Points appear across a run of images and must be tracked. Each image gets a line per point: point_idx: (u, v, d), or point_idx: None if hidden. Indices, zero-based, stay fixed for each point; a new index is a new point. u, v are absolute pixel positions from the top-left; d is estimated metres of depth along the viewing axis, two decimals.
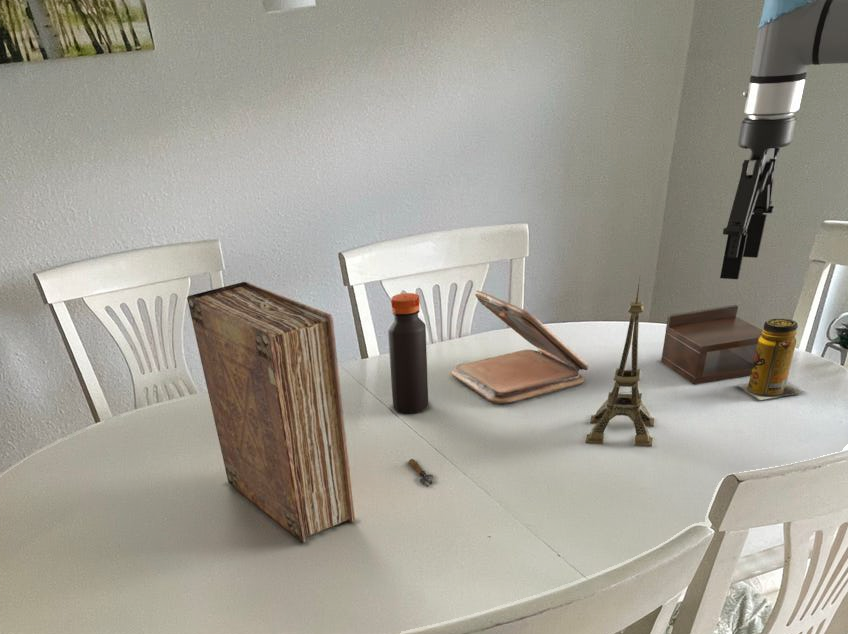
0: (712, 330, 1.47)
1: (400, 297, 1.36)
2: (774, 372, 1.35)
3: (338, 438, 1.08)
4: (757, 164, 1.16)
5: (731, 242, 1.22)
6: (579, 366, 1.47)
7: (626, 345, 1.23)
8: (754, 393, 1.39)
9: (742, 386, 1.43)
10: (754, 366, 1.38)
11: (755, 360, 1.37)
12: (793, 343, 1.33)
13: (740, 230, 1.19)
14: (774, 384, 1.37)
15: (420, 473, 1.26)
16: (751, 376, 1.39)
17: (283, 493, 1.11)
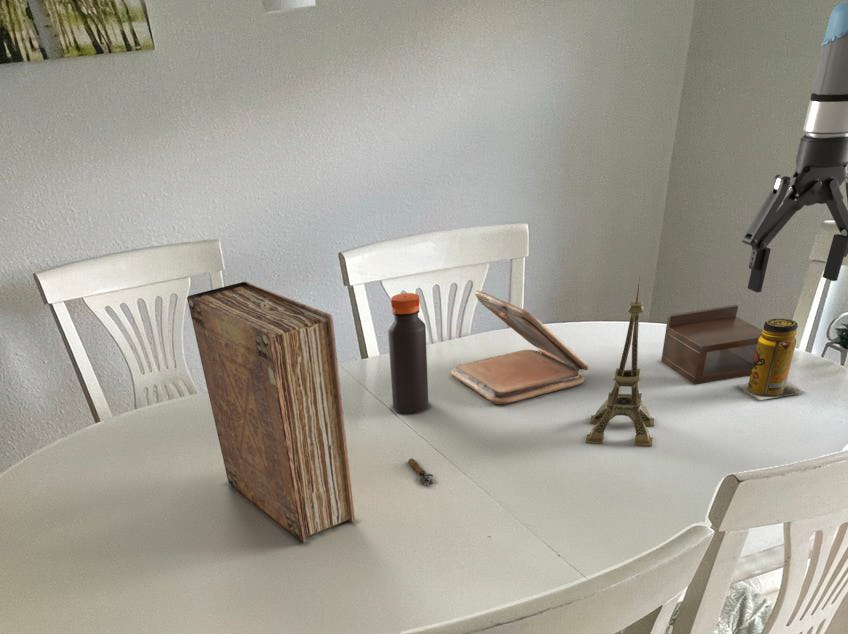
0: (712, 330, 1.47)
1: (400, 297, 1.36)
2: (774, 372, 1.35)
3: (338, 438, 1.08)
4: (782, 180, 1.18)
5: (752, 253, 1.25)
6: (579, 366, 1.47)
7: (626, 345, 1.23)
8: (754, 393, 1.39)
9: (742, 386, 1.43)
10: (754, 366, 1.38)
11: (755, 360, 1.37)
12: (793, 343, 1.33)
13: (749, 242, 1.23)
14: (774, 384, 1.37)
15: (420, 472, 1.26)
16: (751, 376, 1.39)
17: (283, 493, 1.11)
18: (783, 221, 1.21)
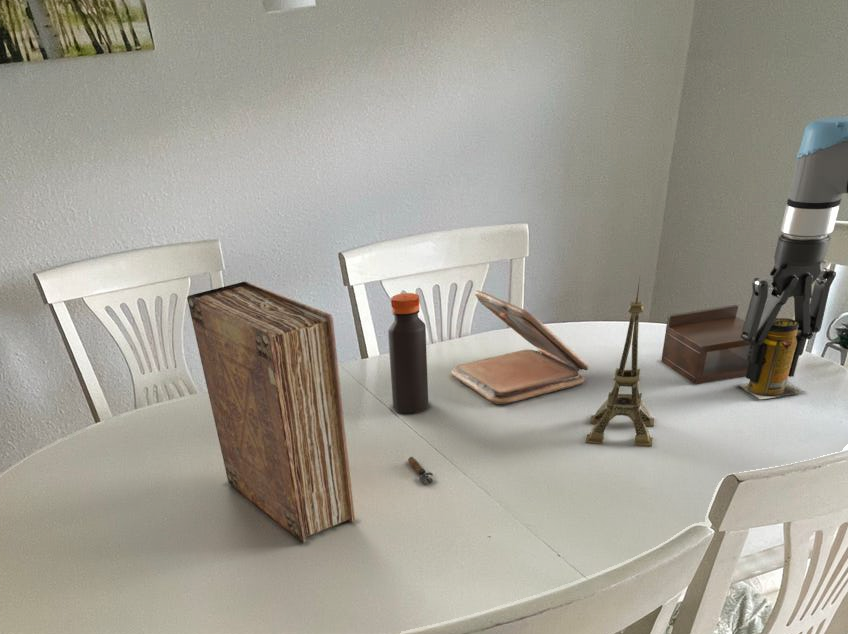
0: (712, 330, 1.47)
1: (400, 297, 1.36)
2: (774, 371, 1.35)
3: (338, 438, 1.08)
4: (759, 285, 1.27)
5: (749, 348, 1.35)
6: (579, 366, 1.47)
7: (626, 345, 1.23)
8: (754, 392, 1.39)
9: (742, 385, 1.43)
10: None
11: None
12: (794, 343, 1.33)
13: (747, 339, 1.33)
14: (774, 384, 1.37)
15: (420, 471, 1.26)
16: None
17: (283, 493, 1.11)
18: (772, 317, 1.31)
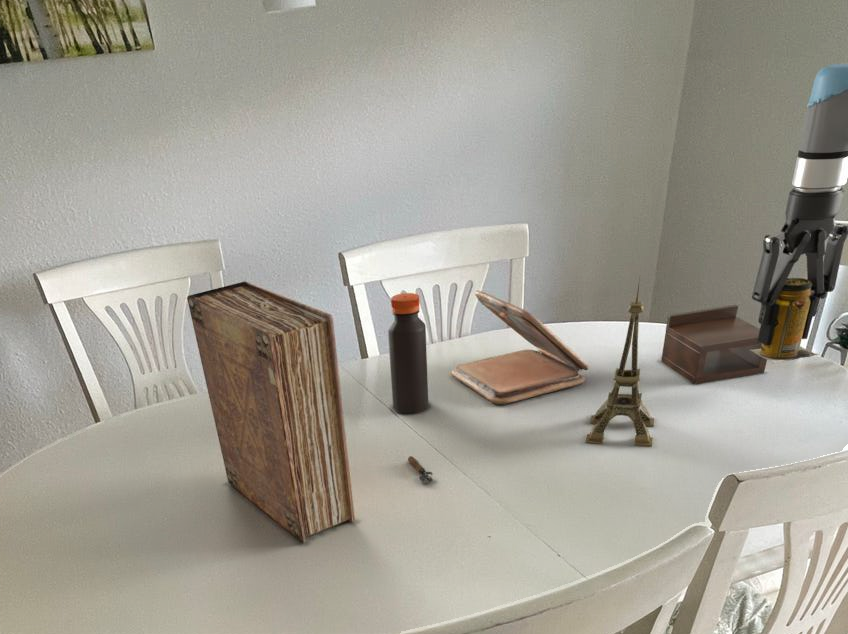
0: (712, 330, 1.47)
1: (400, 297, 1.36)
2: (787, 333, 1.31)
3: (338, 438, 1.08)
4: (770, 242, 1.23)
5: (761, 309, 1.31)
6: (579, 366, 1.47)
7: (626, 345, 1.23)
8: (767, 356, 1.35)
9: (754, 350, 1.38)
10: None
11: None
12: (807, 302, 1.29)
13: (759, 299, 1.28)
14: (787, 346, 1.32)
15: (419, 470, 1.26)
16: None
17: (283, 493, 1.11)
18: (784, 276, 1.27)
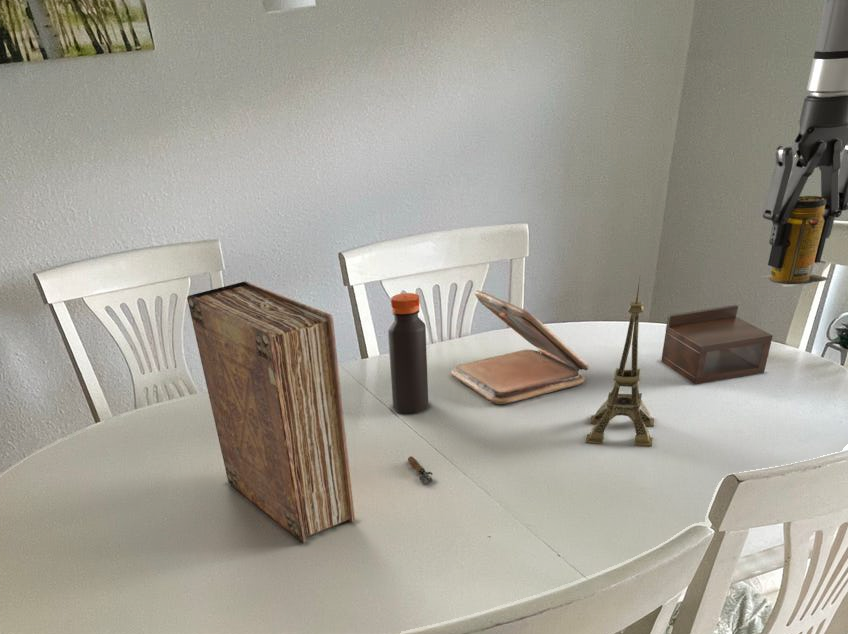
0: (712, 330, 1.47)
1: (400, 297, 1.36)
2: (800, 254, 1.25)
3: (338, 438, 1.08)
4: (784, 153, 1.16)
5: (772, 229, 1.24)
6: (579, 366, 1.47)
7: (626, 345, 1.23)
8: (778, 281, 1.28)
9: (764, 277, 1.32)
10: None
11: None
12: (821, 221, 1.22)
13: (770, 217, 1.22)
14: (799, 270, 1.26)
15: (419, 470, 1.26)
16: None
17: (283, 493, 1.11)
18: (797, 191, 1.20)
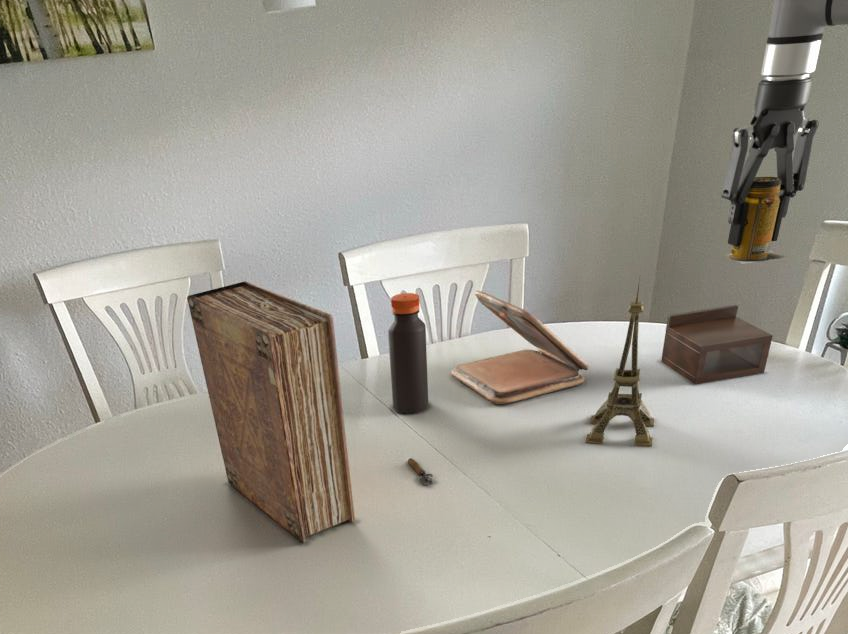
0: (712, 330, 1.47)
1: (400, 297, 1.36)
2: (757, 233, 1.30)
3: (338, 438, 1.08)
4: (739, 135, 1.22)
5: (731, 208, 1.30)
6: (579, 366, 1.47)
7: (626, 345, 1.23)
8: (737, 259, 1.34)
9: (725, 255, 1.37)
10: None
11: None
12: (777, 200, 1.28)
13: (728, 197, 1.28)
14: (757, 247, 1.32)
15: (419, 472, 1.26)
16: None
17: (283, 493, 1.11)
18: (753, 172, 1.26)
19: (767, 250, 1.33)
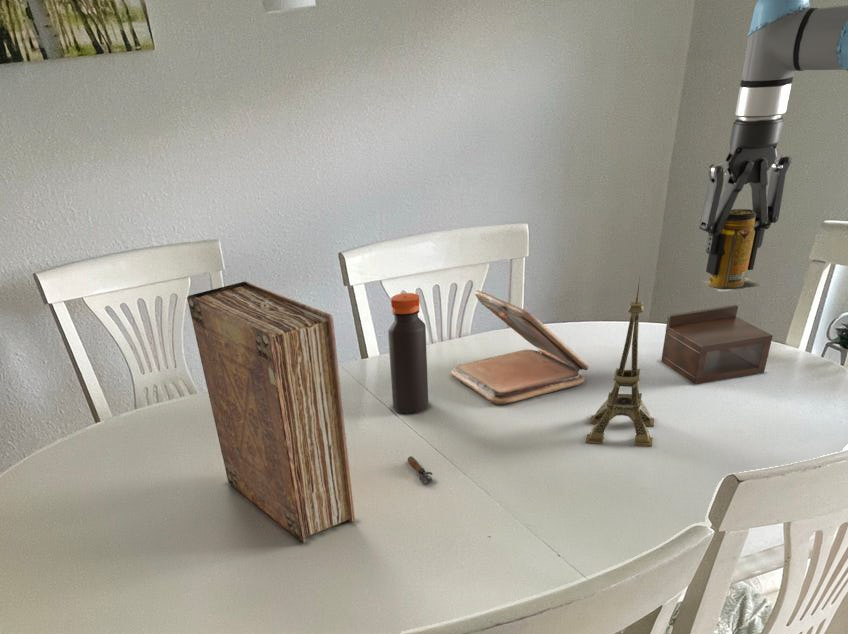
0: (712, 330, 1.47)
1: (400, 297, 1.36)
2: (733, 262, 1.37)
3: (338, 438, 1.08)
4: (715, 171, 1.28)
5: (708, 239, 1.36)
6: (579, 366, 1.47)
7: (626, 345, 1.23)
8: (715, 286, 1.40)
9: (704, 282, 1.44)
10: None
11: None
12: (752, 232, 1.34)
13: (705, 229, 1.34)
14: (733, 276, 1.38)
15: (419, 470, 1.26)
16: None
17: (283, 493, 1.11)
18: (729, 205, 1.32)
19: (743, 278, 1.39)
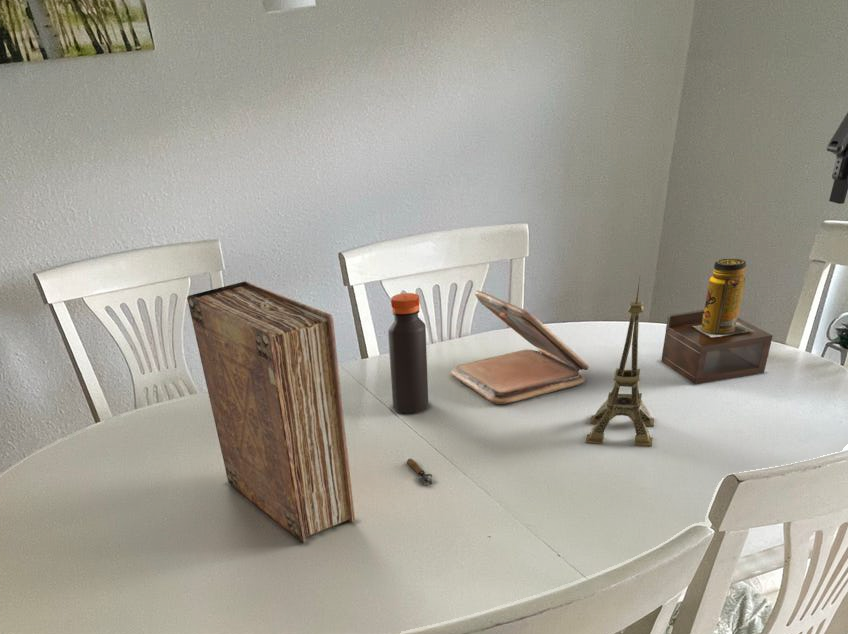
0: None
1: (400, 297, 1.36)
2: (724, 310, 1.42)
3: (338, 438, 1.08)
4: None
5: (836, 163, 1.23)
6: (579, 366, 1.47)
7: (626, 345, 1.23)
8: (706, 332, 1.45)
9: (696, 326, 1.49)
10: (706, 305, 1.44)
11: (707, 299, 1.43)
12: (742, 281, 1.39)
13: (835, 149, 1.20)
14: (724, 322, 1.43)
15: (419, 472, 1.26)
16: (704, 315, 1.45)
17: (283, 493, 1.11)
18: None
19: (734, 324, 1.44)
